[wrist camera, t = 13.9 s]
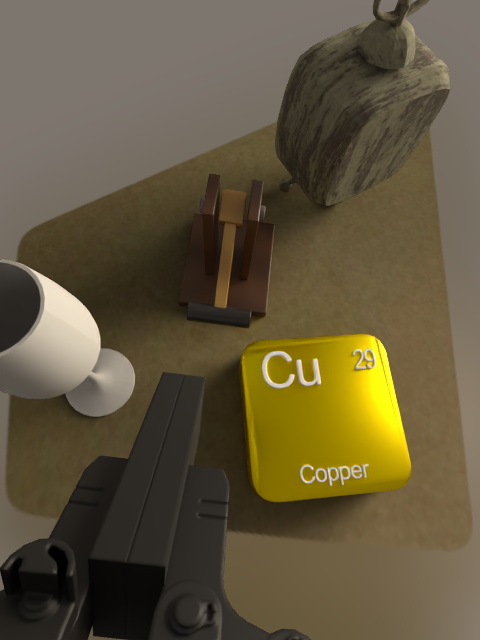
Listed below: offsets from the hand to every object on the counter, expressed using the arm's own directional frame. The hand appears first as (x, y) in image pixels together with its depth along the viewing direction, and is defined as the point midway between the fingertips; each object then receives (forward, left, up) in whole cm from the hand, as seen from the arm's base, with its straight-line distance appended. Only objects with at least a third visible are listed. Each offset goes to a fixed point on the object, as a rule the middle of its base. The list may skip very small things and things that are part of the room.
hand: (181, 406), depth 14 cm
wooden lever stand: (-5, +19, -26) cm, 33 cm away
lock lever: (-4, +16, -18) cm, 25 cm away
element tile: (+10, +6, -26) cm, 29 cm away
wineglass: (-12, +1, -26) cm, 29 cm away
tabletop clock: (+3, +35, -26) cm, 44 cm away
